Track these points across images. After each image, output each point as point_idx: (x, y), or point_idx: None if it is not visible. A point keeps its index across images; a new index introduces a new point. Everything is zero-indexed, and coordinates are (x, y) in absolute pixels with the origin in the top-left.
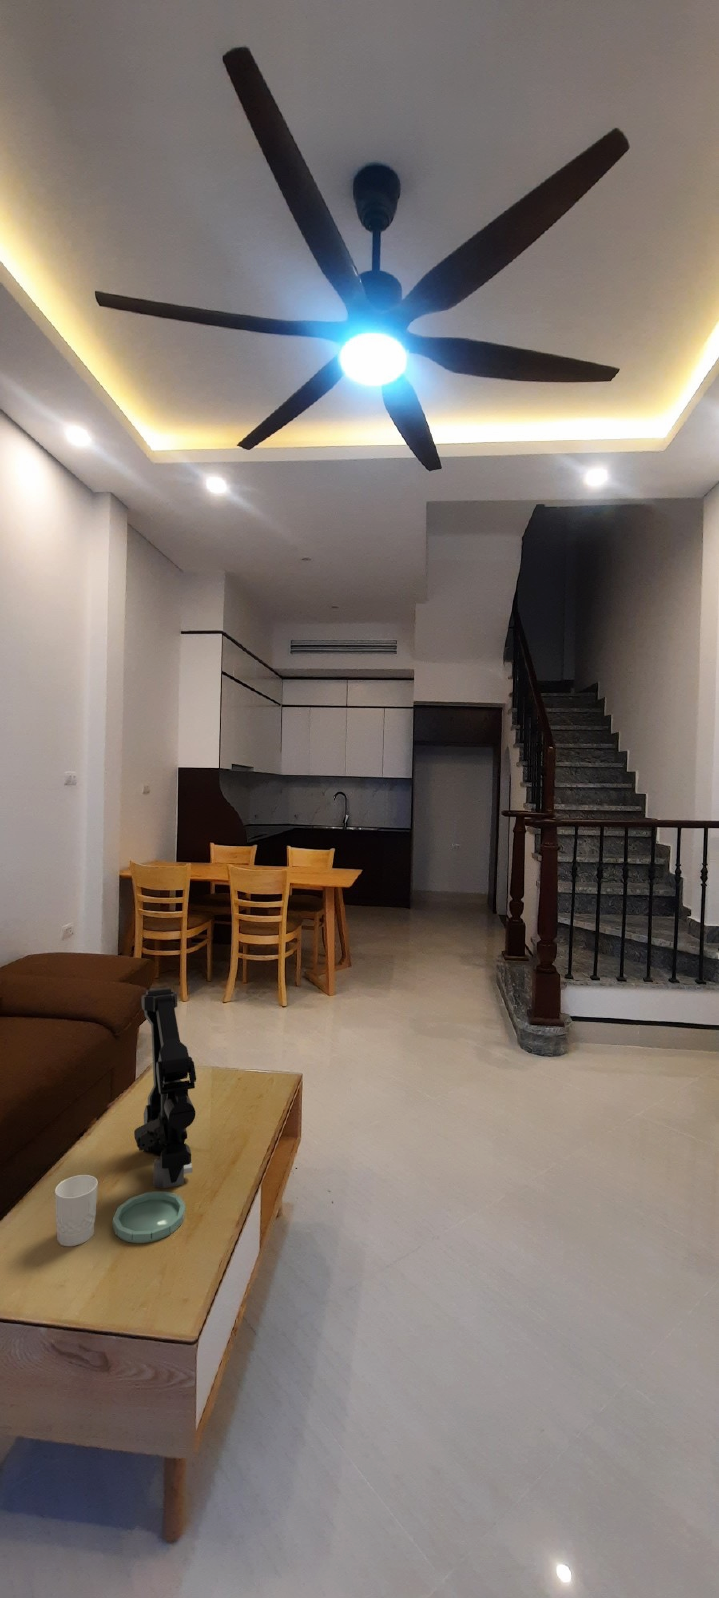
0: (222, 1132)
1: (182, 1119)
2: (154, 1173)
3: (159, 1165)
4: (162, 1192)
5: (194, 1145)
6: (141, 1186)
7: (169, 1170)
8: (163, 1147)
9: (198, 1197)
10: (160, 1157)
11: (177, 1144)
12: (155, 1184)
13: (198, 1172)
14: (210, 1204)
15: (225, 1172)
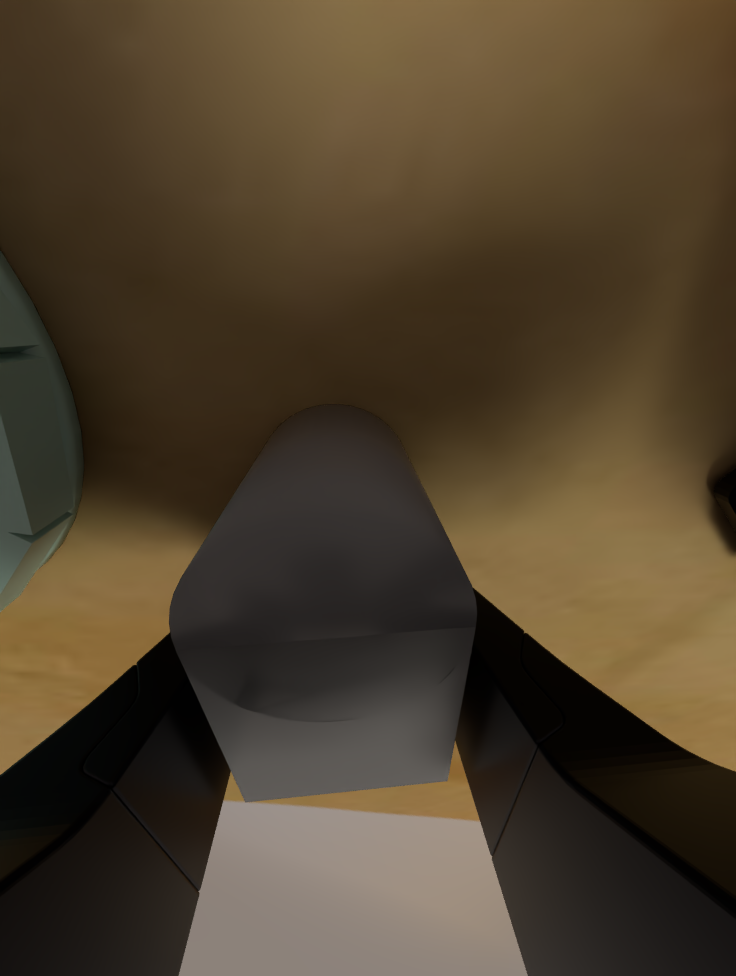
0: (703, 734)
1: None
2: (274, 458)
3: (207, 601)
4: (7, 513)
5: (692, 646)
6: (339, 279)
7: (117, 685)
8: (611, 819)
9: (128, 667)
10: (471, 608)
11: (542, 936)
12: (277, 430)
13: None
14: (58, 710)
15: None
